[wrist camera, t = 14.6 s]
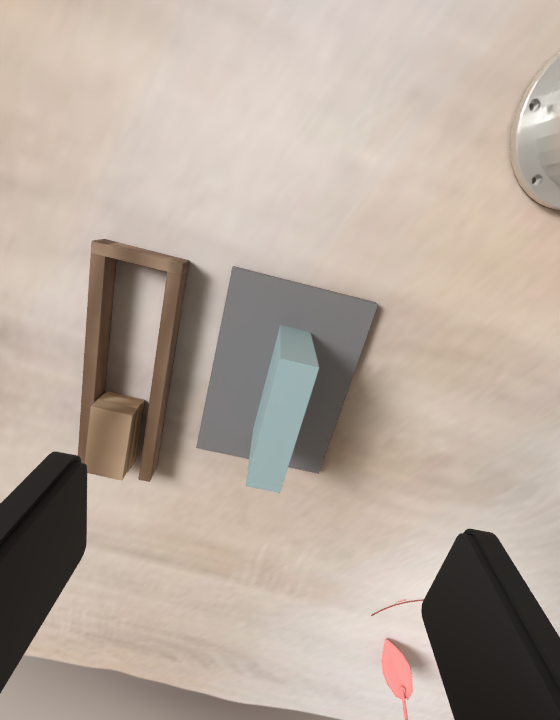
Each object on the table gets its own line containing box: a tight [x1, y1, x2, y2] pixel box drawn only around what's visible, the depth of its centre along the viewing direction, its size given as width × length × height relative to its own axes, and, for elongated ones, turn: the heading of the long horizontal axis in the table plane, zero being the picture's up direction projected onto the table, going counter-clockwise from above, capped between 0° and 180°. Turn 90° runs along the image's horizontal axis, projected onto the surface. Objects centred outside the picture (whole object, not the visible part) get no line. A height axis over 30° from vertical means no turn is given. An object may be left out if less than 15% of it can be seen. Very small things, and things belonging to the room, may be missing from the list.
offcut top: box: [84, 399, 138, 480], centre depth 38 cm, size 4×8×2 cm, turn 164°
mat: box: [196, 266, 378, 473], centre depth 38 cm, size 14×20×1 cm
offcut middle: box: [97, 393, 142, 471], centre depth 40 cm, size 4×8×2 cm, turn 165°
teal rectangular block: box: [246, 325, 319, 493], centre depth 34 cm, size 3×12×9 cm, turn 166°
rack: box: [78, 239, 189, 482], centre depth 37 cm, size 8×24×2 cm, turn 166°
